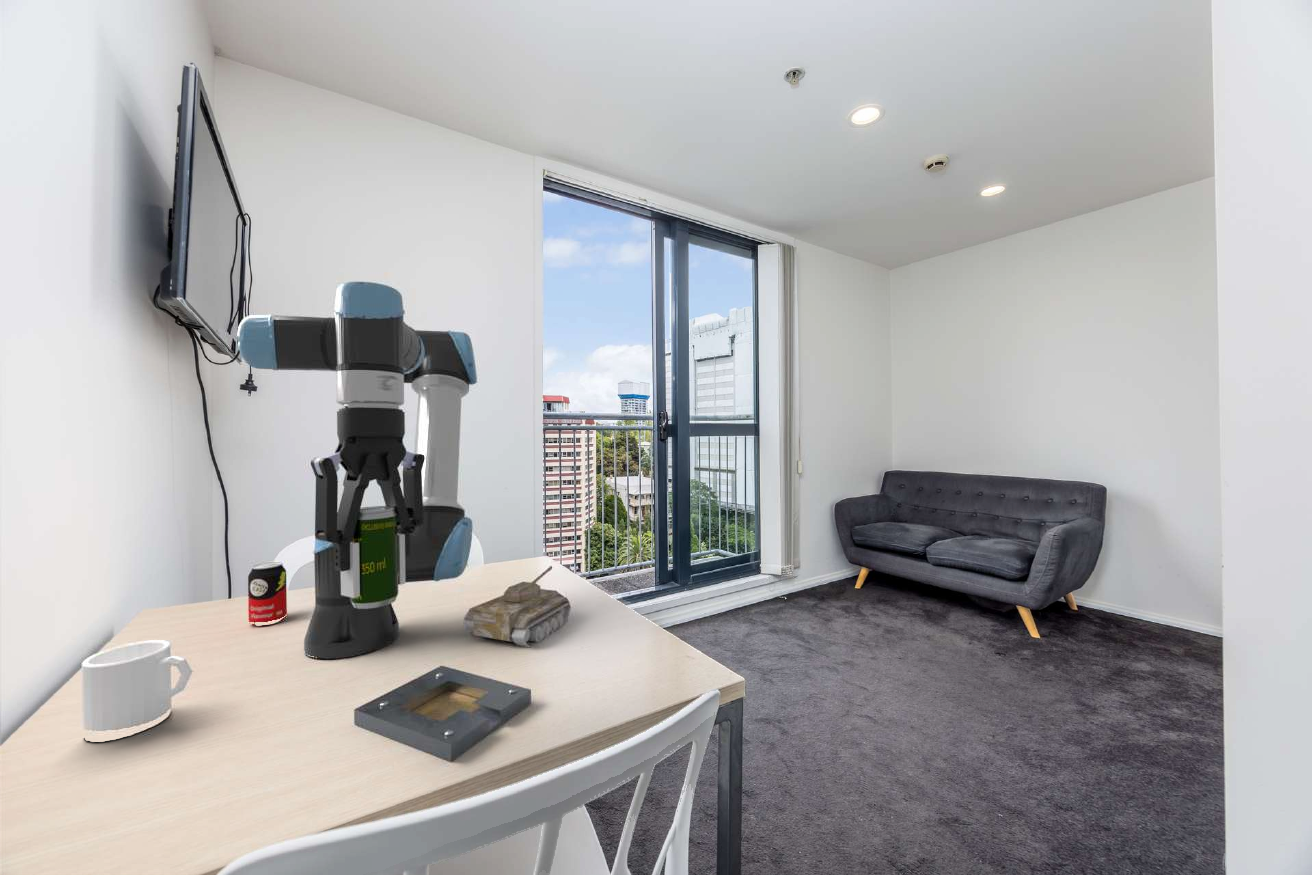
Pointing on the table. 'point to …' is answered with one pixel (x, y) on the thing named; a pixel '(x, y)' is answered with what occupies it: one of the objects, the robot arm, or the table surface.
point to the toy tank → (520, 614)
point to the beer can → (377, 556)
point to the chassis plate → (443, 711)
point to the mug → (129, 685)
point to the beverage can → (267, 592)
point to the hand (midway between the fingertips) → (374, 588)
